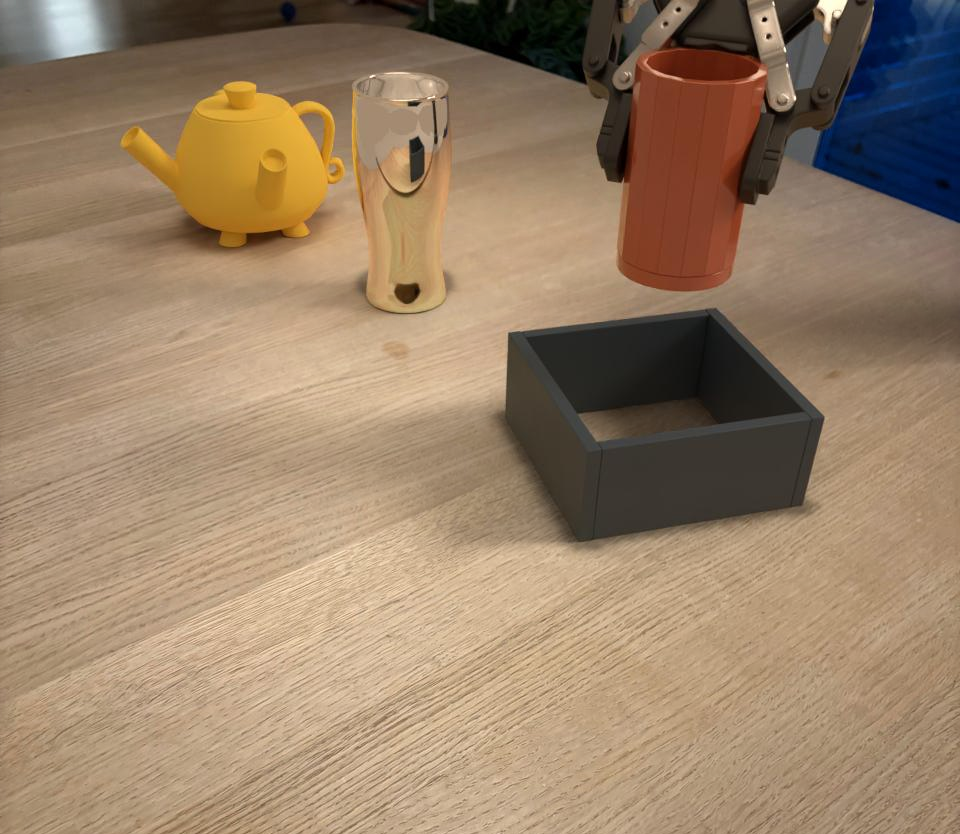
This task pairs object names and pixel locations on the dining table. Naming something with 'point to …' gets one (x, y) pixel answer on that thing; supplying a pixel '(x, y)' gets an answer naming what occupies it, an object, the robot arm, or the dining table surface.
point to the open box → (668, 455)
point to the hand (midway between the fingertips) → (679, 185)
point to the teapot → (245, 163)
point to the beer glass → (403, 184)
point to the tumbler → (687, 166)
